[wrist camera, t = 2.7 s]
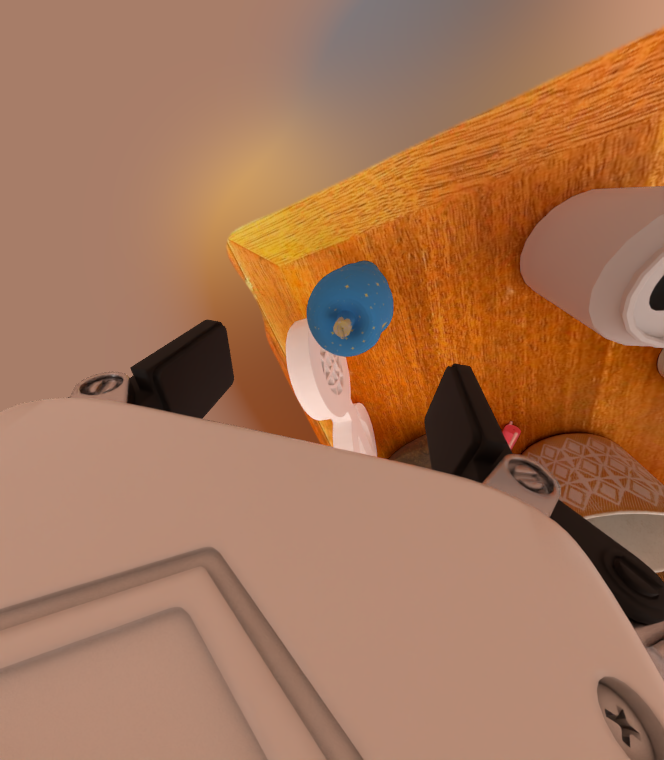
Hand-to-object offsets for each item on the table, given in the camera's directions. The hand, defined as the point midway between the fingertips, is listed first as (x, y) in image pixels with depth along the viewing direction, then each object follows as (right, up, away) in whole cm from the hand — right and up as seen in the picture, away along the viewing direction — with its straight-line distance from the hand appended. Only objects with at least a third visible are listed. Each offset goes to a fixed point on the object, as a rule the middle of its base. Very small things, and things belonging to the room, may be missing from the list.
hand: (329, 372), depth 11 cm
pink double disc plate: (+2, -1, +22) cm, 22 cm away
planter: (+30, -11, +22) cm, 39 cm away
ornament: (+3, +10, +14) cm, 18 cm away
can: (+19, +11, +10) cm, 24 cm away
